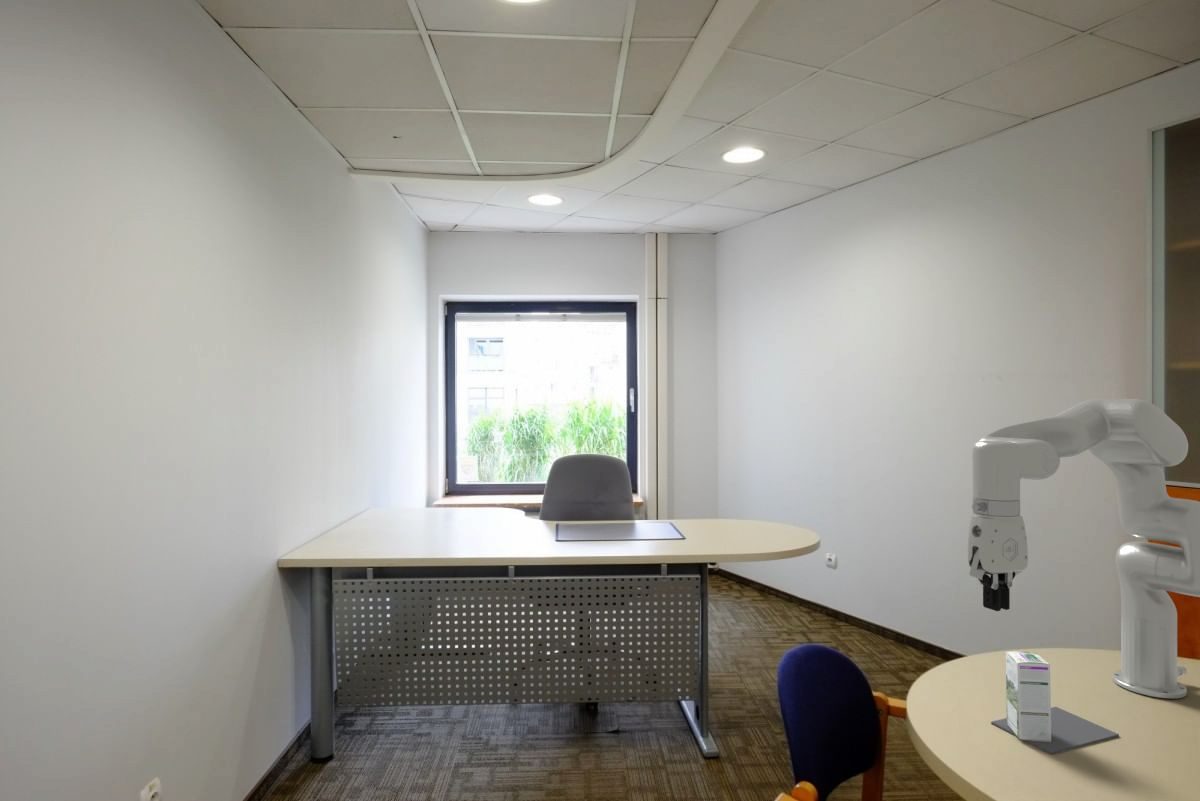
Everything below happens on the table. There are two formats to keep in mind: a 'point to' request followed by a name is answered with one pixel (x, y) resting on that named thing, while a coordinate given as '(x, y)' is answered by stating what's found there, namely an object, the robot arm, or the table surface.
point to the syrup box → (1028, 696)
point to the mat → (1066, 732)
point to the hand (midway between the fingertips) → (996, 607)
